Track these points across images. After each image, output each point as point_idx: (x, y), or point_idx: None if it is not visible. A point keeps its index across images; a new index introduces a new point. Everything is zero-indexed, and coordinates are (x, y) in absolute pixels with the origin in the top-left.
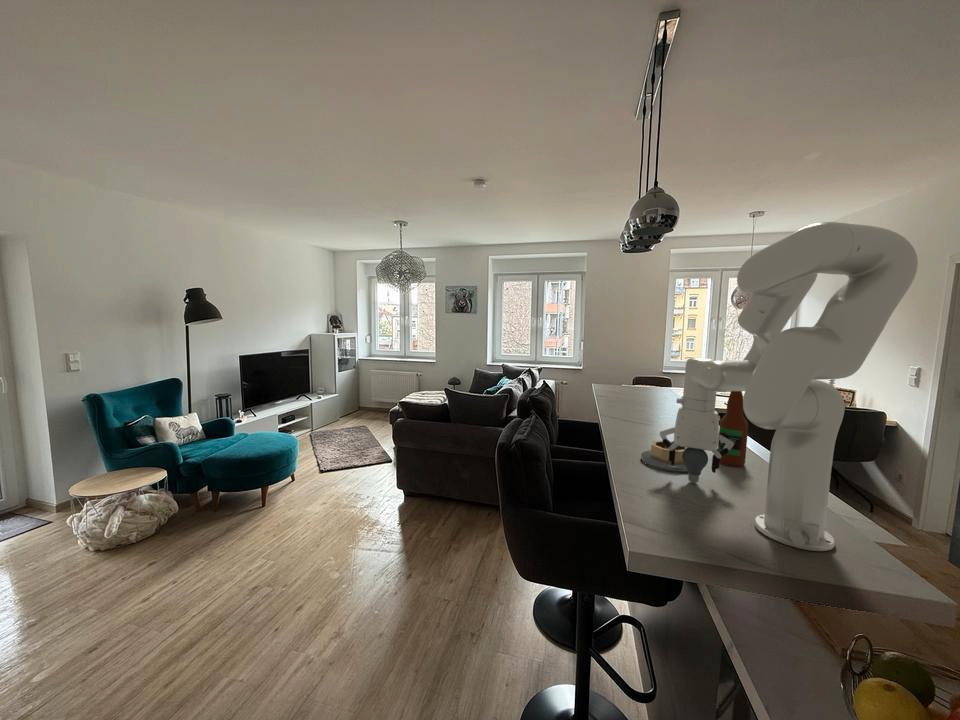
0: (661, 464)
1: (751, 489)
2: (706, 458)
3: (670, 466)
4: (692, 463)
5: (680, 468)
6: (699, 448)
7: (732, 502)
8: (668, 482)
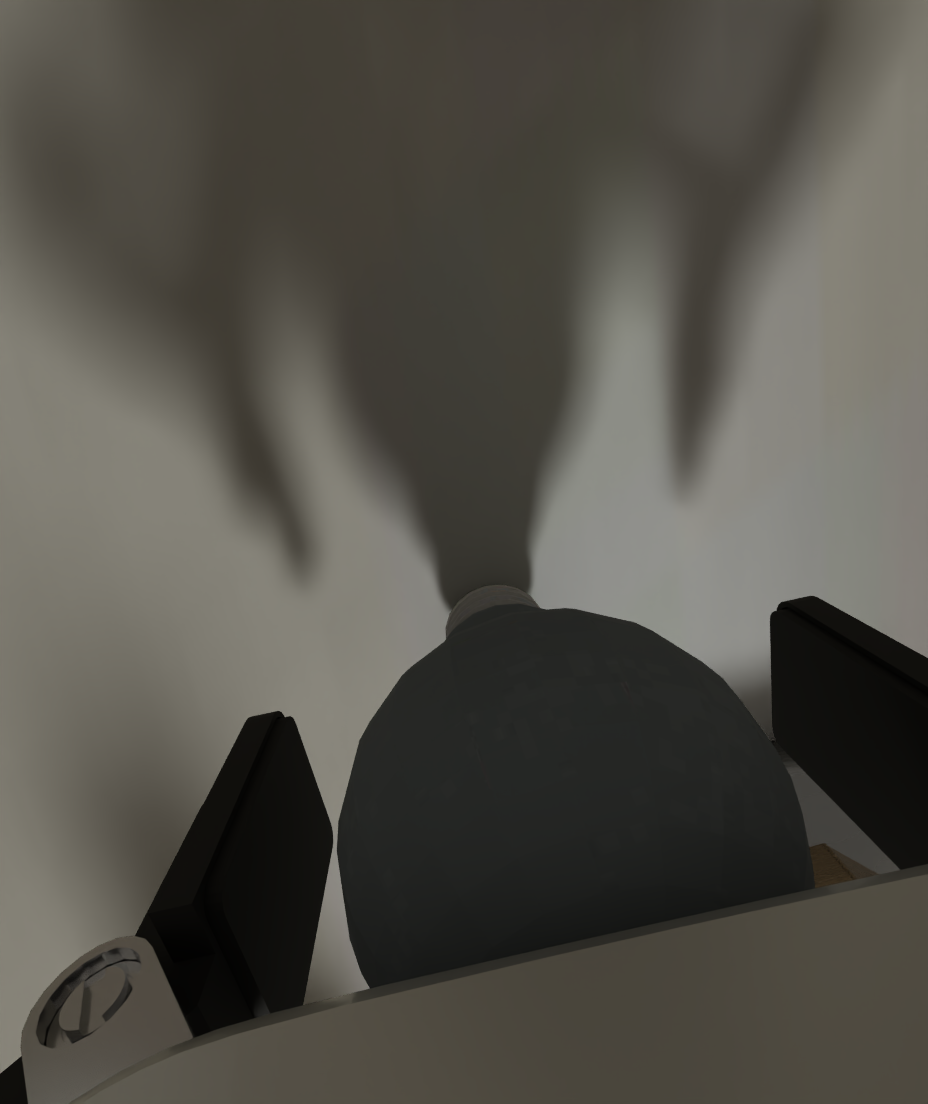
0: (820, 791)
1: (32, 822)
2: (349, 826)
3: None
4: (560, 611)
5: None
6: (533, 965)
7: (37, 330)
8: (702, 460)
